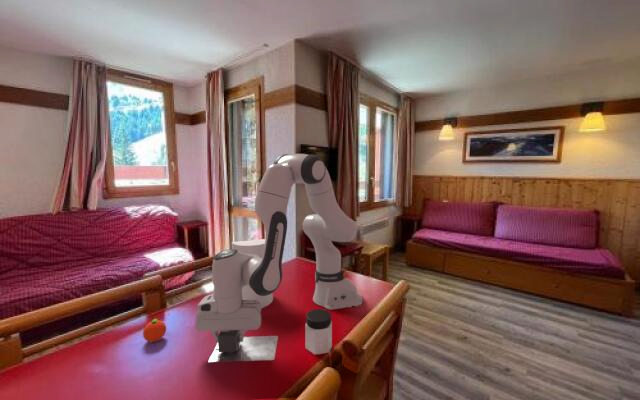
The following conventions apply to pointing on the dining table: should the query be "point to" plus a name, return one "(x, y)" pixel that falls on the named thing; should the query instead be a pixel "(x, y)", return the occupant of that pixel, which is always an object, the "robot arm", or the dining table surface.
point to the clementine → (154, 330)
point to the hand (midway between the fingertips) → (229, 341)
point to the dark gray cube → (228, 340)
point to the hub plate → (249, 350)
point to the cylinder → (257, 249)
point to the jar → (318, 331)
